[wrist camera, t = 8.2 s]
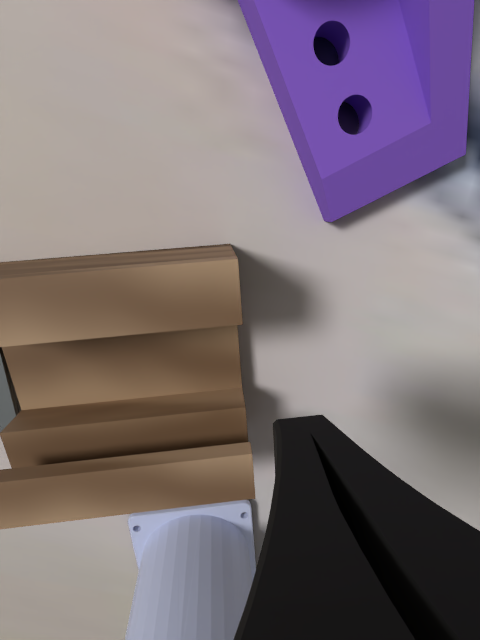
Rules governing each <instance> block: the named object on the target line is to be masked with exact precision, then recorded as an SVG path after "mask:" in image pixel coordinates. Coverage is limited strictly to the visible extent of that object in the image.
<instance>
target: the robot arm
mask: <svg viewBox="0 0 480 640" xmlns="http://www.w3.org/2000/svg"><path fill="white" fill-rule="evenodd" d="M273 435H274V456H275V484H274V491H273V497H272V503H271V509H270V515H269V520H268V524H267V529H266V533H265V538H264V542H263V546H262V550H261V554H260V557H259V561H258V565H257V568H256V562H255V549H254V537H253V524H252V511H251V504H250V502H249V501H248V500H239V501H231V502H222V503H214V504H206V505H197V506H189V507H181V508H173V509H164V510H156V511H148V512H139V513H132V514H131V515H130V516H129V519H128V525H129V530H130V534H131V538H132V543H133V547H134V551H135V556H136V560H137V565H138V569H139V572H138V577H137V582H136V587H135V592H134V597H133V602H132V607H131V612H130V617H129V622H128V627H127V632H126V637H125V640H480V531H479V530H477V529H475V528H474V527H472V526H470V525H469V524H467V523H466V522H464V521H462V520H461V519H459V518H458V517H456V516H454V515H453V514H451V513H450V512H448V511H447V510H445V509H443V508H442V507H440V506H439V505H437V504H436V503H434V502H433V501H431V500H430V499H428V498H427V497H425V496H424V495H422V494H421V493H420V492H418V491H417V490H415V489H414V488H413V487H411V486H410V485H408V484H407V483H406V482H404V481H403V480H401V479H400V478H399V477H397V476H396V475H395V474H393V473H392V472H391V471H389V470H388V469H387V468H385V467H384V466H383V465H381V464H380V463H379V462H378V461H376V460H375V459H374V458H373V457H371V456H370V455H369V454H368V453H366V452H365V451H364V450H363V449H362V448H360V447H359V446H358V445H357V444H356V443H355V442H353V441H352V440H351V439H350V438H349V437H347V436H346V435H345V434H344V433H343V432H342V431H341V430H339V429H338V428H337V427H336V426H335V425H334V424H332V423H331V422H330V421H329V420H328V419H327V418H325V417H324V416H323V415H315V416H306V417H296V418H287V419H278V420H276V421H275V422H274V423H273ZM243 512H246V513H243Z"/></svg>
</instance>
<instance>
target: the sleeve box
mask: <svg viewBox="0 0 480 640" xmlns="http://www.w3.org/2000/svg"><path fill="white" fill-rule="evenodd" d="M237 325H243V322H242V308H241V295H240V281H239V267H238V258H237V256H236V254H235V252H234V251H233V249H232V247H231V245H230V244H223V245H210V246H198V247H185V248H173V249H161V250H148V251H136V252H123V253H111V254H99V255H86V256H74V257H61V258H49V259H37V260H24V261H12V262H0V347H2V350H3V353H4V356H5V359H6V363H7V366H8V369H9V372H10V375H11V378H12V382H13V385H14V388H15V391H16V394H17V397H18V401H19V404H20V407H21V411H20V412H19V413H18V414H17V416H16V417H15V418H14V419H13V420H12V421H11V422H10V423H9V424H8V425H7V426H6V427H5V428H4V429H3V430H2V431H1V432H0V436H1V439H2V441H3V444H4V447H5V450H6V453H7V456H8V459H9V462H10V464H11V467H12V469H3V470H0V529H7V528H15V527H23V526H31V525H40V524H48V523H56V522H65V521H73V520H81V519H90V518H98V517H106V516H114V515H123V514H131V513H139V512H148V511H156V510H164V509H173V508H181V507H189V506H197V505H206V504H214V503H222V502H231V501H239V500H247V499H255V487H254V473H253V459H252V450H251V444H250V442H248V434H247V420H246V407H245V401H244V396H243V390H242V379H241V367H240V354H239V341H238V328H237Z"/></svg>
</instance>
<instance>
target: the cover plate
mask: <svg viewBox="0 0 480 640" xmlns="http://www.w3.org/2000/svg"><path fill="white" fill-rule="evenodd" d="M20 411H21V407H20V404H19V401H18V397H17V394H16V391H15V388H14V385H13V382H12V378H11V375H10V372H9V369H8V366H7V363H6V359H5V356H4V353H3V350H2V347H0V432H1V431H2V430H3V429H4V428H5V427H6V426H7V425H8V424H9V423H10V422H11V421H12V420H13V419H14V418H15V417H16V416H17V414H18V413H19V412H20Z"/></svg>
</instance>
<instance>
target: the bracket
mask: <svg viewBox="0 0 480 640" xmlns="http://www.w3.org/2000/svg"><path fill="white" fill-rule="evenodd" d="M238 2H239V4H240V7H241V9H242V12H243V15H244V17H245V20H246V22H247V25H248V27H249V30H250V32H251V35H252V38H253V40H254V43H255V45H256V48H257V50H258V53H259V55H260V58H261V61H262V63H263V66H264V68H265V71H266V73H267V76H268V78H269V81H270V84H271V86H272V89H273V91H274V94H275V96H276V99H277V101H278V104H279V107H280V109H281V112H282V114H283V117H284V119H285V122H286V124H287V127H288V130H289V132H290V135H291V137H292V140H293V142H294V145H295V147H296V150H297V152H298V155H299V158H300V160H301V163H302V165H303V168H304V170H305V173H306V175H307V178H308V181H309V183H310V186H311V188H312V191H313V193H314V196H315V198H316V201H317V204H318V206H319V209H320V211H321V214H322V216H323V219H324V221H327V222H333V221H335V220H337V219H339V218H341V217H343V216H345V215H347V214H349V213H351V212H353V211H355V210H357V209H359V208H361V207H363V206H365V205H367V204H369V203H371V202H373V201H375V200H376V199H378V198H380V197H382V196H384V195H386V194H388V193H390V192H392V191H394V190H396V189H398V188H400V187H402V186H404V185H406V184H408V183H410V182H412V181H414V180H416V179H418V178H420V177H422V176H424V175H426V174H428V173H430V172H432V171H434V170H436V169H438V168H440V167H442V166H444V165H446V164H448V163H450V162H452V161H454V160H456V159H457V158H459V157H461V156H463V155H465V154H466V140H467V122H468V104H469V86H470V68H471V50H472V32H473V14H474V0H238ZM314 37H322V38H325V39H327V40H329V41H330V42H331V43H332V44H333V45H334V47H335V48H336V51H337V53H338V57H339V64H337V65H333V66H328V65H325V64H323V63H321V62H320V61H319V60H318V59H317V57H316V55H315V52H314V48H313V41H314ZM342 102H346V103H348V104H350V105H351V106H352V107H353V108H354V109H355V111H356V112H357V115H358V118H359V129H358V133H357V134H356V135H351V134H348V133H346V132H344V131H343V130H342V129H341V127H340V125H339V122H338V110H339V107H340V105H341V104H342Z"/></svg>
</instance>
